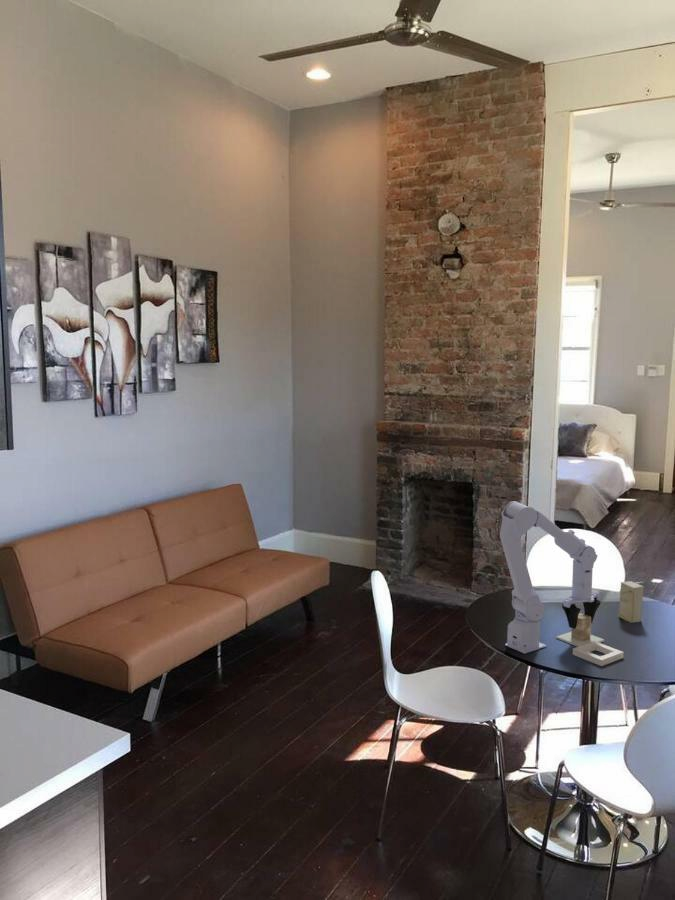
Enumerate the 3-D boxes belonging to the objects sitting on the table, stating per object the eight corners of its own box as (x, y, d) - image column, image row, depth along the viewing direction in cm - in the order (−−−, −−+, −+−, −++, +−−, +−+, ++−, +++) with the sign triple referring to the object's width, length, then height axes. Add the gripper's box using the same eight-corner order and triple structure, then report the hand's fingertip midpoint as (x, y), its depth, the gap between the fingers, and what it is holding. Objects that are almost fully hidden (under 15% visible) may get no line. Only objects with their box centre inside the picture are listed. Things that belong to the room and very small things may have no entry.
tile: (582, 648, 221) (583, 646, 221) (556, 638, 229) (556, 636, 229) (604, 641, 226) (604, 639, 226) (577, 631, 235) (577, 629, 235)
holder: (601, 666, 209) (601, 660, 208) (572, 654, 217) (572, 648, 217) (623, 657, 214) (623, 652, 214) (594, 646, 222) (594, 641, 222)
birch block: (581, 641, 225) (582, 619, 224) (571, 637, 228) (572, 615, 227) (590, 638, 227) (591, 616, 226) (579, 634, 230) (580, 613, 229)
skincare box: (618, 617, 247) (619, 581, 245) (629, 615, 248) (630, 580, 247) (631, 623, 241) (633, 587, 240) (642, 621, 243) (644, 586, 241)
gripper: (577, 590, 218) (575, 634, 220) (608, 581, 226) (606, 624, 228) (558, 584, 224) (556, 627, 226) (589, 575, 232) (587, 617, 234)
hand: (580, 625), depth 227 cm, fingers open, 7 cm apart
